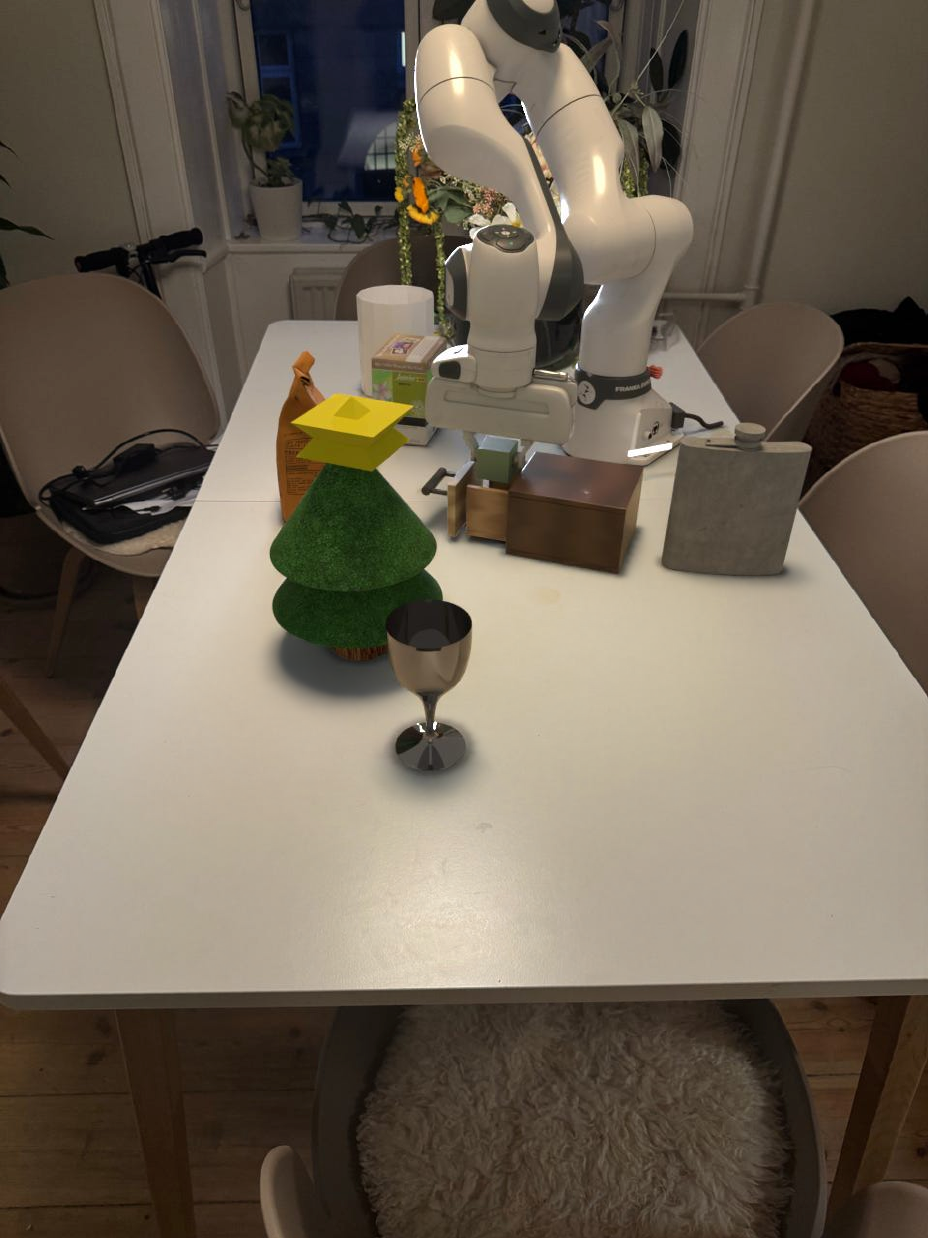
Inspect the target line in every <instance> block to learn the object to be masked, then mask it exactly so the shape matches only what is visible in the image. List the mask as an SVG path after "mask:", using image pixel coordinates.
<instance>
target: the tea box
mask: <svg viewBox="0 0 928 1238" xmlns="http://www.w3.org/2000/svg"><path fill="white" fill-rule="evenodd" d="M446 350H448V339H447V337H442V336H434V337H430V336H418V335H406V334H394V335H393V336H392V337H391V338H390V339H389V340H388V341H387V342H386V343H385V344H384V345H383V347H382V348H381V349H380V350H379V351H378V352H377V353H376V354H375V355H374V356H373V357H372V358H371V360H372V397H371V399H375V400H382V401H388V402H394V403H400V404H406V405H412V406H413V407H412V409H411V410H410V411H409V412H408V413H407V414H406V415H405V416H404V417H403V418H402V419H401V420H400V421H399V422H398V423H397V424H396V425H395V426H394V428H395V429H396V430H398V431H399V432H400V433H402V434H403V435H405V436H406V437H407V438H409V439H410V440H409V441H408V442H407V443H406V444H405V445H412V446H413V445H414V446H427V444H428V442H429V441H430V440H431V439H432V437H433V435H434V434H435V433H436V431H437V429H438V428H439V427H433V426H430V425H429V423H428V422H427V420H426V419H425V399H426V391H427V386H428V384H429V382H430V381H431V379H433V378H434V376H433V375H432V373H431V365H432V363H433V361H434V360H435V359H436V358H437V357H438V356H439V355H441V354H442V353H443V352H445V351H446Z"/></svg>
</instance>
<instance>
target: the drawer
mask: <svg viewBox="0 0 928 1238" xmlns="http://www.w3.org/2000/svg"><path fill="white" fill-rule="evenodd" d="M528 461H529V460H525V465H524V467H525V466H526V464H527V463H528ZM524 467H523V468H522V469H519V468H517V471H516V472H515V474H514V475H513V477H512V478H511V480H510V481H509V482H508V483H502V482H496V481H489V480H488V487H485V486H484V480H483V479H477V462H473V461H471V460H470V457H469V458H468V460H467V461H465V463H464V464H463V465H462V467H461V468H460V469H459V470H458V472H454V471H448V470H447V469H446V468H445V467H443V466H442V467H439V468H438V469H437V470H436V471H435V472H434V474H433V475H432V476H431V477H430V478H429V480H428V481H426V483H425V484H423V486H422V487H421V488H420V492H421V495H423V496H425V497H428V496H430V495H431V494H433V495H439V496H444V497H447V498H446V501H447V503H446V504H447V506H446V507H447V508H446V509H447V512H446V513H447V517H446V519H447V521H446V523H447V525H446V526H447V528H446V530H447V536H449V537H452V538H453V537H457V535H458V534H459V532H460V531H461V529H463V527H464V526H465V535H467V536H474V537H480V538H485V539H491V540H497V541H503V542H506V531H507V507H508V490H509V489H510V487H511V486H512V484H513V483H514V482H515V480H516V479H517V477H518V476H519V474H520V473H521V471H522V470H523V469H524ZM445 477H448V478H451V480H450V481H449V482H448V483H447V485H446V487H447V488H446V489H441V488H437V487H438V486H439V484H440V483H441V482H442V481H443V480H444V478H445Z"/></svg>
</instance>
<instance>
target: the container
mask: <svg viewBox="0 0 928 1238" xmlns="http://www.w3.org/2000/svg"><path fill="white" fill-rule="evenodd" d="M355 297H356V315H357V330H358V332H357V333H358V347H359V348H358V350H359V351H358V352H359V369H360V382H361V383H360V385H361V386H360V387H361V388H360V389H361V391H362V392H363V393H364V395H366V396H368V397H369V398H372V360H371V358H372V357H373V356H374V355H375V354H376V353H377V352H378V351H379V350H380V349H381V348H382V347H383V345H384V344H385V343H386V342H387V341H388V340H389V339H390V338H391V337H392V336H393V335H394V334H406V335H418V336H430V337H435V296H434V293H433V291H432V290H430V289H427V288H425V287H421V286H414V285H407V284H386V285H377V286H371V287H368V288H364V289H361V290H360V291H359V292H358V293H357V294H356V296H355Z"/></svg>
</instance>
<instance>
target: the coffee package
mask: <svg viewBox="0 0 928 1238" xmlns="http://www.w3.org/2000/svg"><path fill="white" fill-rule="evenodd" d="M315 361H316V358H315V357H314V356H313V355H312V354H311V353H310V351H308V350H305V351H302V352H301V354H300V355H299V357H298V358H297V360H296V361H295V362H294V363H293V365H292V366H291V367H292V368H291V369H292V371H293V374H294V377H293V380H292V383H291V386H290V388H289V392H288V396H287V398H286V399H285V400H284V402H283V404H282V407H281V410H280V413H279V414H280V415H279V416H278V425H277V432H276V433H277V434H276V441H275V459H276V472H277V473H276V474H277V484H278V485H277V486H278V493H279V500H280V501H279V502H280V508H281V512H282V517H283V520H284V521H285V522H286V521H287V520H288V518H289V517H290V516H291V514H292V513H293V511H294V510H295V508H296V507H297V505H298V504H299V502H300V501H301V499H302V498H303V496H304V495H305V493H306V492H307V490H308V489H309V487H310V486H311V484H312V483H313V482H314V480H315V479H316V477H317V476H318V474H319V473H320V471H321V470H322V468H323V467H324V465H325V464H326V462H320V461H315V460H310V459H305V458H300V457H296V456H297V455H298V454H299V453H300V452H301V451H302V450H303V448H304V447H305V446H306V445H307V444H308V443H309V442H310V441H311V440H312V439H313V437H312V436H310V435H308V434H307V433H305V432H304V431H302V430H301V429H299V428H298V427H296V426H295V425H293V424H292V423H291V422H292V421H294V420H295V419H297V418H299V417H300V416H302V415H303V414H305V413H306V412H308V411H309V410H311V409H312V408H314V407H316V406H317V405H319V404H320V403H322V402H323V401H325V400H326V399H327V398H326V397H325V396H324V395H323V393H322V392H321V391H320V390H319V389H318V388H317V387H316V385H315V383H314V381H313V378H312V376H311V374H310V370H311V369H312V367H313V366H314V365H315Z"/></svg>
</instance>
